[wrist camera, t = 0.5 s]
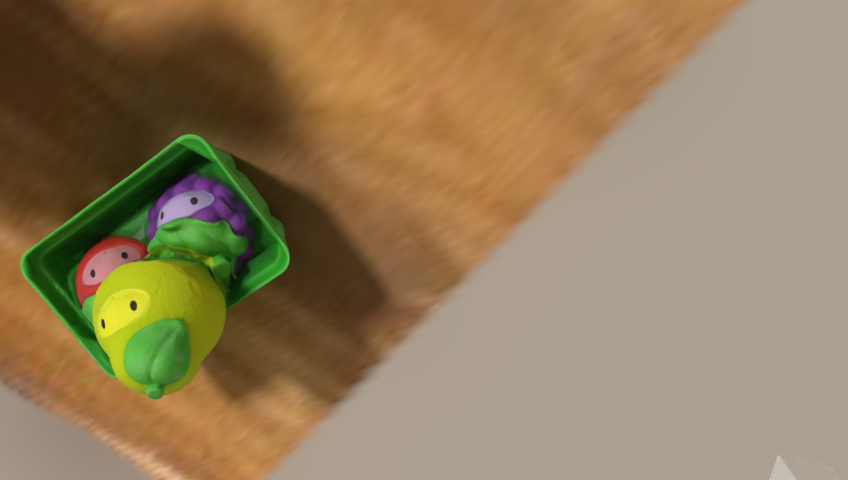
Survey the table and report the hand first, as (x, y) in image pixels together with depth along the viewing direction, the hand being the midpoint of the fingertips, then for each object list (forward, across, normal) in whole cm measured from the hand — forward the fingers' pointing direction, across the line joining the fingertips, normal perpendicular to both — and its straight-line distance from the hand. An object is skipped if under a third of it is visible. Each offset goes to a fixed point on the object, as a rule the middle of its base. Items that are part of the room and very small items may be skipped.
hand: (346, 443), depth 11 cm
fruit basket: (+26, -12, -7) cm, 30 cm away
